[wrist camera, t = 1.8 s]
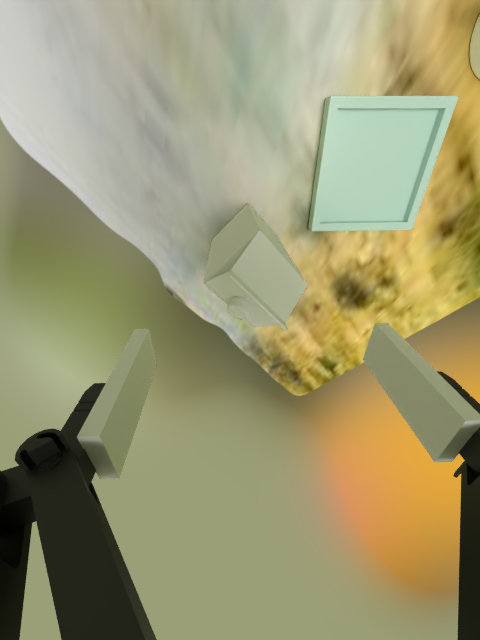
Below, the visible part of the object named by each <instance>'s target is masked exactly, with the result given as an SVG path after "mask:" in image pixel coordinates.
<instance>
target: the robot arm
mask: <svg viewBox="0 0 480 640" xmlns="http://www.w3.org/2000/svg"><path fill="white" fill-rule="evenodd" d="M363 360H364V362H365V363H366V365H367V366H368V367H369V369H370V370H371V372H372V373H373V374H374V376H375V377H376V379H377V380H378V382H379V383H380V384H381V386H382V387H383V389H384V390H385V392H386V393H387V395H388V396H389V397H390V399H391V400H392V402H393V403H394V405H395V406H396V407H397V409H398V410H399V412H400V413H401V414H402V416H403V418H404V419H405V420H406V422H407V423H408V425H409V426H410V428H411V429H412V430H413V432H414V433H415V435H416V436H417V438H418V439H419V440H420V442H421V443H422V445H423V446H424V447H425V449H426V450H427V452H428V453H429V455H430V456H431V458H432V459H433V461H434V462H452V461H453V460H454V459H455V457H456V456H457V455H458V454H460V455H461V456H462V457H463V459H464V460H465V461H464V462H463V463H462V465H461V466H460V467H459V468H458V469H457V471H456V472H455V473H454V477H458V475H459V474H461V517H460V562H459V563H460V564H459V609H458V640H480V404H479V403H478V402H477V401H476V400H475V399H474V398H473V397H470V395H469V394H468V393H467V392H466V391H465V390H464V389H462V387H461V386H460V385H459V384H458V383H457V382H456V381H455V380H453V379H452V378H451V377H449V376H448V375H446V374H444V373H443V372H437V371H435V369H434V368H433V367H431V366H430V365H429V364H428V363H427V362H426V361H425V360H424V359H423V358H422V357H421V356H420V355H419V354H418V353H417V352H416V351H415V350H414V349H413V348H412V347H411V346H410V345H409V344H408V343H407V342H406V341H405V340H404V339H403V338H402V337H401V336H400V335H399V334H398V333H397V332H396V331H395V330H394V329H393V328H392V327H391V326H390V325H389V324H388V323H375V325H374V328H373V331H372V334H371V337H370V340H369V343H368V346H367V349H366V352H365V355H364V358H363ZM156 367H157V363H156V359H155V354H154V350H153V346H152V341H151V336H150V332H149V329H135V330H134V332H133V334H132V336H131V338H130V340H129V341H128V343H127V345H126V347H125V349H124V351H123V352H122V354H121V356H120V358H119V360H118V362H117V364H116V366H115V367H114V369H113V371H112V373H111V375H110V376H109V378H108V380H107V382H106V383H95V384H93V385H92V386H91V387H90V388H89V389H88V390H86V391H85V393H84V394H83V395H82V397H81V399H80V401H79V403H78V404H77V405H76V407H75V409H74V412H72V414H71V415H70V417H69V419H68V420H67V422H66V424H65V425H64V427H63V428H62V430H61V431H59V430H56V429H47V430H43V431H41V432H38V433H36V434H34V435H33V436H31V437H30V438H28V439H27V440H26V441H25V442H24V443H23V444H22V445H21V446H20V447H19V449H18V451H17V452H16V456H15V461H16V462H17V463H18V464H19V466H17V467H14V468H10V469H7V470H4V471H0V640H19V637H20V628H21V619H22V610H23V600H24V590H25V583H26V573H27V564H28V555H29V546H30V537H31V528H32V523H33V522H35V521H37V526H38V530H39V535H40V540H41V545H42V549H43V554H44V558H45V563H46V568H47V573H48V577H49V582H50V587H51V591H52V596H53V601H54V606H55V610H56V614H57V620H58V624H59V629H60V633H61V638H62V640H156V637H155V635H154V633H153V630H152V628H151V626H150V623H149V620H148V618H147V615H146V613H145V611H144V608H143V606H142V603H141V601H140V599H139V596H138V593H137V591H136V589H135V586H134V584H133V581H132V579H131V577H130V574H129V572H128V569H127V567H126V564H125V562H124V560H123V557H122V555H121V552H120V550H119V547H118V545H117V542H116V540H115V538H114V535H113V533H112V530H111V528H110V526H109V523H108V521H107V518H106V516H105V513H104V511H103V509H102V506H101V503H100V501H99V499H98V496H97V494H96V491H95V489H94V486H93V484H92V483H91V481H92V479H93V477H94V474H95V472H96V473H97V475H98V476H99V478H100V479H107V478H119V477H120V474H121V471H122V468H123V466H124V462H125V459H126V457H127V454H128V451H129V448H130V445H131V441H132V439H133V435H134V433H135V429H136V427H137V424H138V421H139V418H140V415H141V412H142V409H143V406H144V403H145V400H146V397H147V394H148V391H149V388H150V385H151V382H152V379H153V376H154V373H155V370H156Z"/></svg>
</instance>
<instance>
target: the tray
mask: <svg viewBox="0 0 480 640" xmlns="http://www.w3.org/2000/svg"><path fill="white" fill-rule="evenodd" d="M458 97H459V96H330V97H328V98H326V99H325V106H324V113H323V121H322V128H321V135H320V143H319V150H318V158H317V165H316V172H315V180H314V187H313V194H312V202H311V209H310V217H309V224H308V229H309V230H311V231H363V230H412V228H413V225H414V222H415V219H416V216H417V213H418V211H419V208H420V205H421V202H422V199H423V196H424V194H425V191H426V188H427V185H428V182H429V179H430V176H431V174H432V171H433V168H434V165H435V162H436V159H437V157H438V154H439V151H440V148H441V145H442V142H443V139H444V137H445V134H446V131H447V128H448V125H449V122H450V120H451V117H452V114H453V111H454V108H455V105H456V102H457V100H458Z"/></svg>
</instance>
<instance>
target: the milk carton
mask: <svg viewBox="0 0 480 640" xmlns="http://www.w3.org/2000/svg"><path fill="white" fill-rule="evenodd" d="M204 284H205V285H206V286H207V287H208V288H209V289H211V290H212V291H213V292H214V293H215V294H216V295H217V296H218V297H220V298H221V299H222V300H223V301H224V302H225V303H226V304H227V305H228V306H227V310H228V312H229V313H230V314H231V315H233V316H234V317H236V318H238V319H241V320H246V321H247V322H248V323H249V324H250V325H252V326H253V327H260V326H269V325H278V324H279V325H280V326H281V327H282V328H283V329H284V330H287V327H286V324H285V322H286V321H287V319H288V317H289V315H290V314H291V312H292V310H293V309H294V307H295V305H296V304H297V302H298V300H299V299H300V297H301V295H302V293H303V292H304V290H305V288H306V287H307V284H306V282H305V280H304V279H303V277H302V275H301V274H300V272H299V270H298V269H297V267H296V266H295V264H294V262H293V261H292V259H291V257H290V256H289V254H288V252H287V251H286V249H285V248H284V246H283V244H282V243H281V241H280V240H279V238H278V237H277V236H276V235H275V234H274V232H273V231H272V230H271V229H270V228H269V226H268V225H267V224H266V223H265V222H264V221H263V219H262V218H261V217H260V216H259V215H258V213H257V212H256V211H255V210H254V209H253V208H252V206H251V205H250V204H249V203H247V204H246V205H245V206H244V207H243V208H242V209H241V210H240V212H239V213H238V214H237V215H236V216H235V217H234V218H233V219H232V220H231V221H230V222H229V223H228V224H227V225H226V226H225V227H224V228H223V229H222V230H221V231H220V232H219V233H218V234H217V235H216V236H215V237H214V238H213V239H212V242H211V247H210V252H209V257H208V263H207V268H206V273H205V278H204Z"/></svg>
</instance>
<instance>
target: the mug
mask: <svg viewBox="0 0 480 640" xmlns="http://www.w3.org/2000/svg"><path fill="white" fill-rule="evenodd" d="M469 55H470V64H471V68H472V70H473V72H474V74H475V75H476V77H477V78H478V79H480V15H479V17H478V19H477V21H476V24H475V27H474V30H473V33H472V37H471V42H470V52H469Z"/></svg>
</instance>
